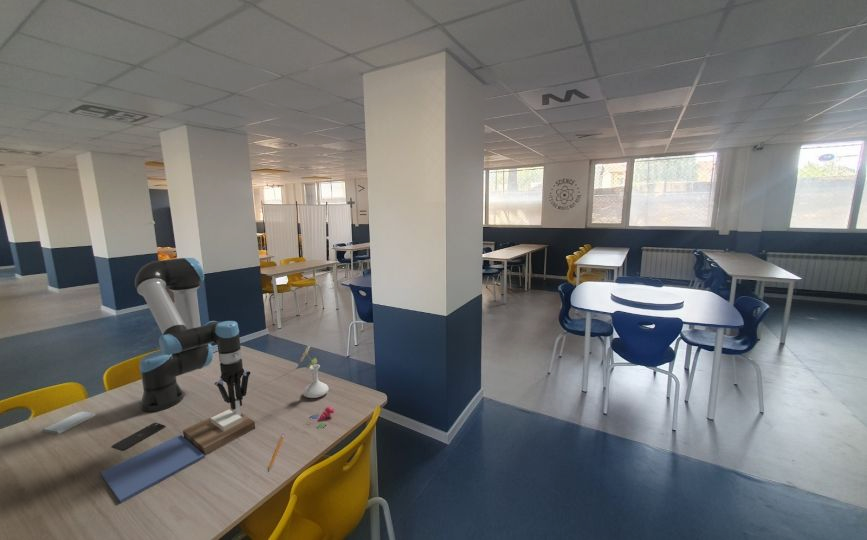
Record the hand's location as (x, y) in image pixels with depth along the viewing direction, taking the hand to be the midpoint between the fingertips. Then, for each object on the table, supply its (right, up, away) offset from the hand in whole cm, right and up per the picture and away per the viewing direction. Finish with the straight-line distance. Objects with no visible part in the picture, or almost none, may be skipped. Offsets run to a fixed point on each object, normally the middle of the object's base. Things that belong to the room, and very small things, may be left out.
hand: (237, 414), depth 137 cm
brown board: (-4, -5, -5) cm, 8 cm away
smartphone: (-34, -6, -7) cm, 35 cm away
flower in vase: (+24, 0, +22) cm, 32 cm away
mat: (-15, -8, -22) cm, 28 cm away
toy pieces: (+32, -4, +2) cm, 33 cm away
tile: (-2, -1, -3) cm, 4 cm away
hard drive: (-70, -5, +2) cm, 70 cm away
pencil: (+23, -7, -16) cm, 29 cm away
